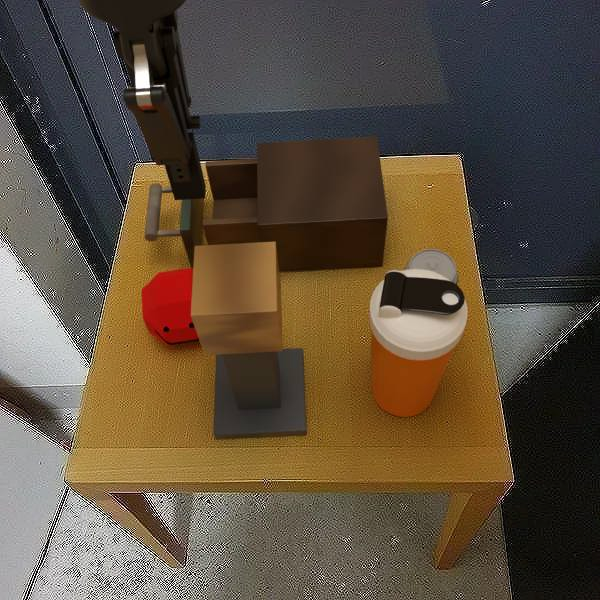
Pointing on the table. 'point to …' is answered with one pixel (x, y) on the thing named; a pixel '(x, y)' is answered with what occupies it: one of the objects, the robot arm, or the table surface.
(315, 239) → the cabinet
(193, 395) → the table surface
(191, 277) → the red faceted polyhedron
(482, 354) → the table surface
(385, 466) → the table surface
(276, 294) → the oak block
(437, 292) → the shaker bottle
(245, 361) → the stand
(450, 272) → the beverage can
